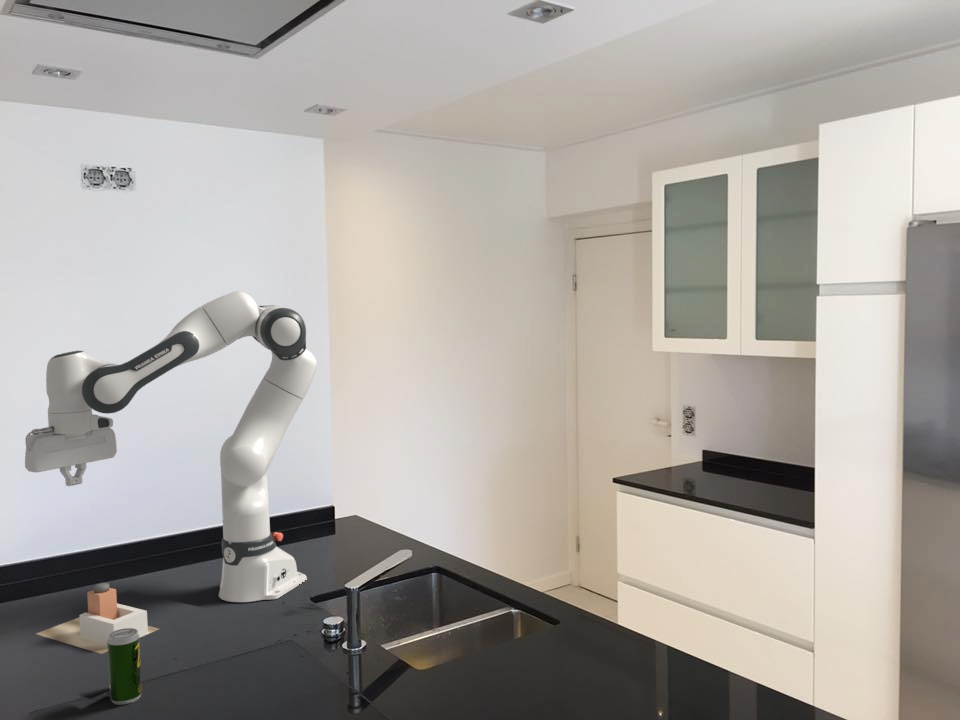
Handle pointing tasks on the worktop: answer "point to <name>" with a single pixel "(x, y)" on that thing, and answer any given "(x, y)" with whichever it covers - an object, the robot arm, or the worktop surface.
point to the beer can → (124, 666)
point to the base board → (76, 636)
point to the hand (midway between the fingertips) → (74, 484)
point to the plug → (103, 601)
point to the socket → (112, 624)
